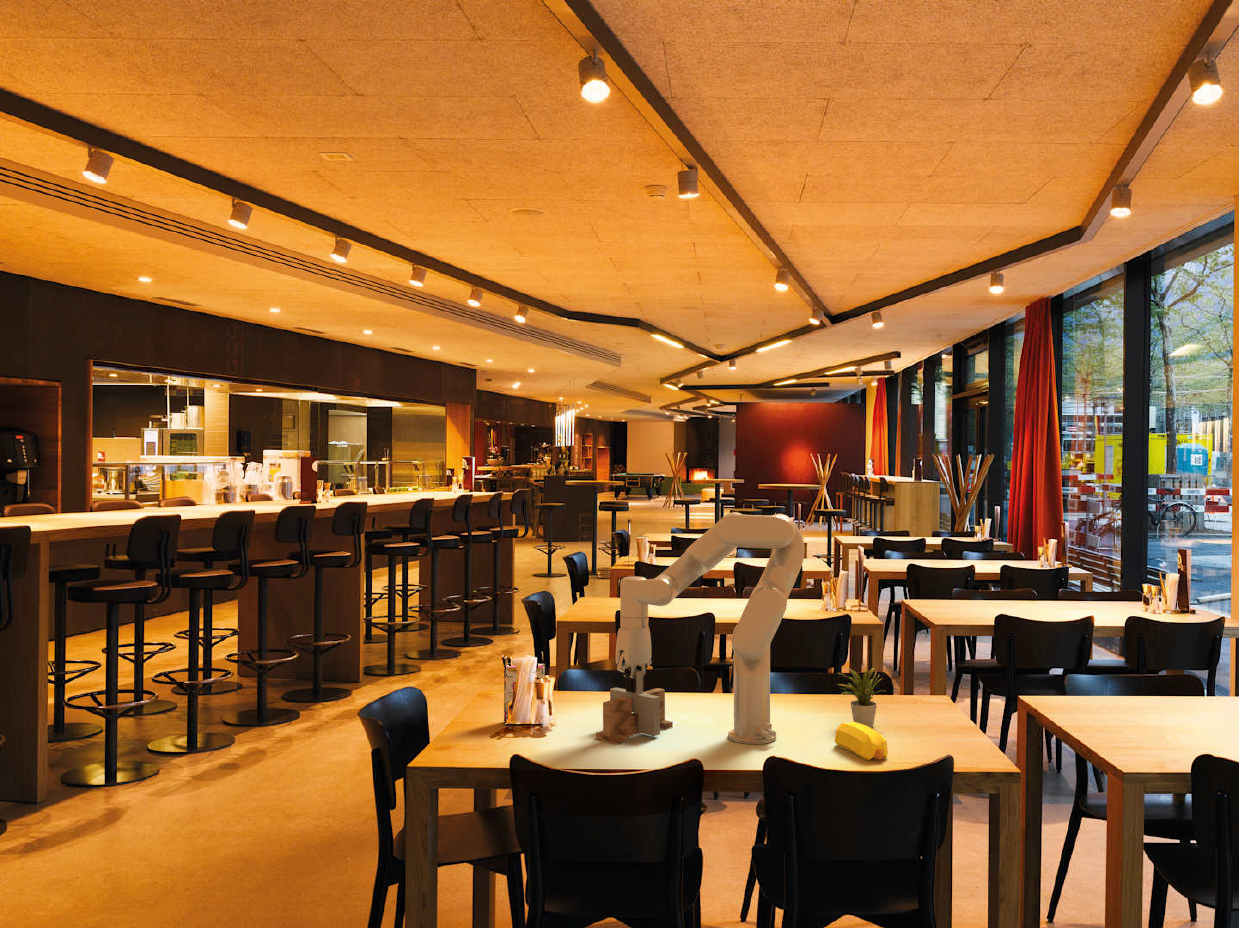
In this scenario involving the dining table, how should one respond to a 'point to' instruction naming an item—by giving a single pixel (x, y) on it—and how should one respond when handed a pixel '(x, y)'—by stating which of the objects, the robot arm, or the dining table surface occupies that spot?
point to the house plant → (863, 698)
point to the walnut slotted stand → (626, 718)
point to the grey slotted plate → (642, 706)
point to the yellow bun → (861, 740)
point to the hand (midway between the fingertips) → (634, 690)
